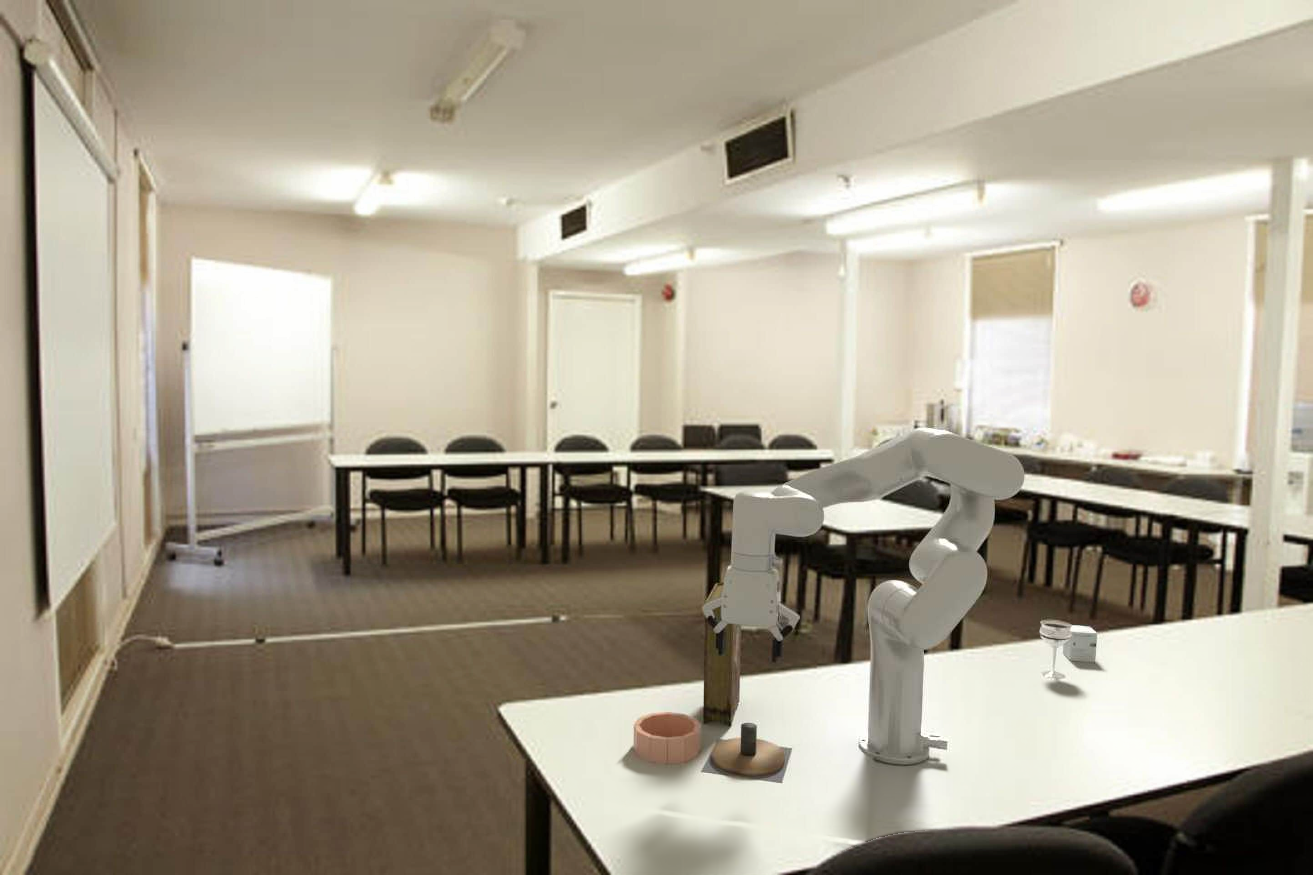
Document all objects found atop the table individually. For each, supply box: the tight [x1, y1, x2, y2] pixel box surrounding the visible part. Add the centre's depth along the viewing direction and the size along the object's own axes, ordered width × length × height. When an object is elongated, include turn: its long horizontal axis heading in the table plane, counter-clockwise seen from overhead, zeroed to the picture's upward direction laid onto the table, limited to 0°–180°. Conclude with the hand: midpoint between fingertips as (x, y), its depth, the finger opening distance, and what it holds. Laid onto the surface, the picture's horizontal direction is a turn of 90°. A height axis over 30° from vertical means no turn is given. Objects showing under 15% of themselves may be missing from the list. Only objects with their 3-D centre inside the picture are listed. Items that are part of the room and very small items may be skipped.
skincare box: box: [1062, 624, 1098, 663], centre depth 218 cm, size 6×6×7 cm
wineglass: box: [1039, 619, 1073, 679], centre depth 205 cm, size 7×7×12 cm
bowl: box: [633, 711, 702, 765], centre depth 163 cm, size 12×12×5 cm
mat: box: [700, 738, 793, 784], centre depth 159 cm, size 14×14×1 cm
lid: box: [711, 722, 785, 776], centre depth 158 cm, size 13×13×6 cm
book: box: [702, 582, 742, 727], centre depth 180 cm, size 16×6×25 cm, turn 168°
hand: (748, 656), depth 158 cm, fingers open, 9 cm apart
